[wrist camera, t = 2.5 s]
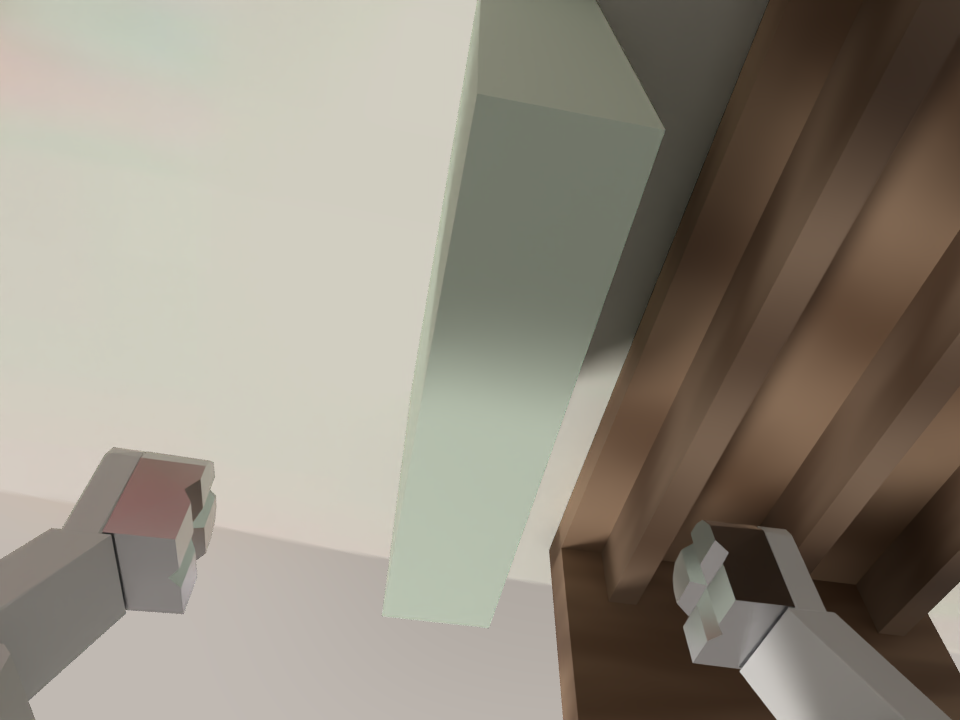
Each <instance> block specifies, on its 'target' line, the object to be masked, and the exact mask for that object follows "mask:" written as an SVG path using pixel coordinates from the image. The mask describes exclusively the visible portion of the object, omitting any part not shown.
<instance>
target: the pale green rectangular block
mask: <svg viewBox="0 0 960 720" xmlns="http://www.w3.org/2000/svg"><path fill="white" fill-rule="evenodd" d="M664 133H665V128H664V126H663V124H662V123H661V121H660V119H659V117H658V115H657V113H656V111H655V110H654V108H653V106H652V104H651V102H650V100H649V98H648V97H647V95H646V93H645V91H644V89H643V87H642V85H641V84H640V82H639V80H638V78H637V76H636V74H635V72H634V71H633V69H632V67H631V65H630V63H629V61H628V59H627V58H626V56H625V54H624V52H623V50H622V48H621V46H620V45H619V43H618V41H617V39H616V37H615V35H614V33H613V31H612V30H611V28H610V26H609V24H608V22H607V20H606V18H605V17H604V15H603V13H602V11H601V9H600V7H599V5H598V4H597V2H596V0H477V4H476V10H475V15H474V21H473V27H472V33H471V39H470V45H469V51H468V57H467V63H466V69H465V75H464V81H463V87H462V93H461V98H460V104H459V110H458V116H457V122H456V128H455V134H454V140H453V146H452V152H451V158H450V164H449V170H448V176H447V182H446V187H445V193H444V199H443V205H442V211H441V217H440V223H439V229H438V235H437V241H436V247H435V253H434V259H433V265H432V270H431V276H430V282H429V288H428V294H427V300H426V306H425V312H424V318H423V324H422V330H421V336H420V342H419V348H418V353H417V359H416V365H415V371H414V377H413V383H412V389H411V396H410V404H409V412H408V419H407V427H406V435H405V442H404V450H403V458H402V465H401V473H400V481H399V489H398V496H397V504H396V512H395V519H394V527H393V535H392V542H391V550H390V558H389V566H388V573H387V581H386V589H385V597H384V604H383V612H382V616H385V617H393V618H402V619H411V620H420V621H429V622H438V623H447V624H456V625H465V626H475V627H483V628H489V626H490V623H491V620H492V618H493V615H494V612H495V609H496V606H497V604H498V601H499V598H500V595H501V593H502V590H503V587H504V584H505V581H506V578H507V576H508V573H509V570H510V567H511V564H512V562H513V559H514V556H515V553H516V550H517V547H518V545H519V542H520V539H521V536H522V533H523V530H524V528H525V525H526V522H527V519H528V516H529V514H530V511H531V508H532V505H533V502H534V499H535V497H536V494H537V491H538V488H539V485H540V483H541V480H542V477H543V474H544V471H545V468H546V466H547V463H548V460H549V457H550V454H551V452H552V449H553V446H554V443H555V440H556V437H557V435H558V432H559V429H560V426H561V423H562V420H563V418H564V415H565V412H566V409H567V406H568V404H569V401H570V398H571V395H572V392H573V389H574V387H575V384H576V381H577V378H578V375H579V373H580V370H581V367H582V364H583V361H584V358H585V356H586V353H587V350H588V347H589V344H590V341H591V339H592V336H593V333H594V330H595V327H596V325H597V322H598V319H599V316H600V313H601V310H602V308H603V305H604V302H605V299H606V296H607V294H608V291H609V288H610V285H611V282H612V279H613V277H614V274H615V271H616V268H617V265H618V263H619V260H620V257H621V254H622V251H623V248H624V246H625V243H626V240H627V237H628V234H629V231H630V229H631V226H632V223H633V220H634V217H635V215H636V212H637V209H638V206H639V203H640V200H641V198H642V195H643V192H644V189H645V186H646V184H647V181H648V178H649V175H650V172H651V169H652V167H653V164H654V161H655V158H656V155H657V152H658V150H659V147H660V144H661V141H662V138H663V136H664Z"/></svg>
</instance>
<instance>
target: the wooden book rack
mask: <svg viewBox="0 0 960 720" xmlns="http://www.w3.org/2000/svg"><path fill="white" fill-rule="evenodd" d="M701 520H709V521H718V522H727V523H736V524H745V525H754V526H756V527H757V526H760V527H769V528H778V529H786V530H787V531H788V532H789V533H790V534H791V535H792V537H793V539H794V541H795V543H796V545H797V548H798V550H799V552H800V554H801V556H802V559H803V561H804V563H805V565H806V567H807V570H808V572H809V574H810V576H811V578H812V581H813V583H814V585H815V587H816V589H817V592H818V594H819V596H820V598H821V600H822V603H823V605H824V607H825V609H826V611H827V612H833V613H836V614H837V615H838V616H839V617H840V618H841V619H842V620H843V621H844V622H845V623H847V624H848V625H849V626H850V627H851V628H852V629H853V630H854V631H855V632H856V633H857V634H859V635H860V636H861V637H862V638H863V639H864V640H865V641H866V642H867V643H868V644H870V645H871V646H872V647H873V648H874V649H875V650H876V651H877V652H878V653H879V654H880V655H882V656H883V657H884V658H885V659H886V660H887V661H888V662H889V663H890V664H891V665H892V666H894V667H895V668H896V669H897V670H898V671H899V672H900V673H901V674H902V675H903V676H905V677H906V678H907V679H908V680H909V681H910V682H911V683H912V684H913V685H914V686H915V687H917V688H918V689H919V690H920V691H921V692H922V693H923V694H924V695H925V696H926V697H928V698H929V699H930V700H931V701H932V702H933V703H934V704H935V705H936V706H937V707H938V708H940V709H941V710H942V711H943V712H944V713H945V714H946V715H947V716H948V717H949V718H950V719H952V720H960V673H959V671H958V669H957V667H956V665H955V663H954V662H953V660H952V658H951V656H950V654H949V652H948V650H947V649H946V647H945V645H944V643H943V641H942V639H941V637H940V636H939V634H938V632H937V630H936V628H935V626H934V625H933V623H932V621H931V619H930V617H929V615H928V612H929V611H930V610H932V609H933V608H934V607H935V606H936V605H937V604H938V603H939V602H940V601H941V600H942V599H943V598H944V597H945V596H946V595H947V594H948V593H949V592H950V591H951V590H952V589H953V588H954V587H955V586H956V585H957V584H958V583H959V582H960V0H769V3H768V5H767V8H766V10H765V13H764V15H763V18H762V20H761V23H760V25H759V28H758V30H757V33H756V35H755V38H754V40H753V43H752V45H751V48H750V50H749V53H748V55H747V58H746V60H745V63H744V65H743V68H742V70H741V73H740V75H739V78H738V80H737V83H736V85H735V88H734V90H733V93H732V95H731V98H730V100H729V103H728V105H727V108H726V110H725V112H724V115H723V117H722V120H721V122H720V125H719V127H718V130H717V132H716V135H715V137H714V140H713V142H712V145H711V147H710V150H709V152H708V155H707V157H706V160H705V162H704V165H703V167H702V170H701V172H700V175H699V177H698V180H697V182H696V185H695V187H694V190H693V192H692V195H691V197H690V200H689V202H688V205H687V207H686V210H685V212H684V215H683V217H682V220H681V222H680V225H679V227H678V230H677V232H676V235H675V237H674V240H673V242H672V245H671V247H670V250H669V252H668V255H667V257H666V260H665V262H664V265H663V267H662V270H661V272H660V275H659V277H658V280H657V282H656V285H655V287H654V290H653V292H652V295H651V297H650V300H649V302H648V305H647V307H646V310H645V312H644V315H643V317H642V320H641V322H640V325H639V327H638V330H637V332H636V335H635V337H634V340H633V342H632V345H631V347H630V350H629V352H628V355H627V357H626V360H625V362H624V365H623V367H622V370H621V372H620V375H619V377H618V380H617V382H616V385H615V387H614V390H613V392H612V395H611V397H610V400H609V402H608V405H607V407H606V410H605V412H604V415H603V417H602V420H601V422H600V425H599V427H598V430H597V432H596V435H595V437H594V440H593V442H592V445H591V447H590V450H589V452H588V455H587V457H586V460H585V462H584V465H583V467H582V470H581V472H580V475H579V477H578V480H577V482H576V485H575V487H574V490H573V492H572V495H571V497H570V500H569V502H568V505H567V507H566V510H565V512H564V515H563V517H562V520H561V522H560V525H559V527H558V530H557V532H556V535H555V537H554V540H553V542H552V545H551V547H550V550H549V554H550V566H551V578H552V589H553V602H554V614H555V626H556V638H557V650H558V662H559V673H560V686H561V698H562V710H563V720H777V719H776V718H775V717H774V716H773V714H772V713H771V712H770V710H769V709H768V708H767V706H766V705H765V704H764V703H763V701H762V700H761V699H760V697H759V696H758V695H757V693H756V692H755V691H754V690H753V688H752V687H751V686H750V684H749V683H748V682H747V680H746V679H745V678H744V677H743V675H742V674H741V673H740V670H741V669H736V668H728V667H720V666H712V665H704V664H696V663H693V662H692V659H691V655H690V651H689V647H688V644H687V640H686V636H685V633H684V629H683V626H684V624H685V622H686V620H687V618H688V615H687V614H686V613H685V612H684V611H683V610H682V608H681V607H680V606H679V605H678V604H677V602H676V598H675V594H674V588H673V572H674V566H675V561H676V559H677V557H678V555H679V553H680V551H681V550H682V549H684V548H686V547H687V546H689V545H691V544H693V540H692V537H691V532H692V530H693V529H694V527H695V525H696V524H697V523H698V522H700V521H701Z"/></svg>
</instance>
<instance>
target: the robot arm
mask: <svg viewBox="0 0 960 720" xmlns="http://www.w3.org/2000/svg"><path fill="white" fill-rule="evenodd" d="M214 478H215V472H214V462H212V461H209V460H202V459H195V458H188V457H181V456H175V455H168V454H161V453H154V452H144V451H137V450H130V449H123V448H116V447H113V448H112V449H111V450H110V451H108V452H107V453H106V454H105V455H104V457H103V459H102V460H101V462H100V464H99V465H98V467H97V469H96V471H95V472H94V474H93V476H92V478H91V479H90V481H89V483H88V484H87V486H86V488H85V490H84V491H83V493H82V495H81V496H80V498H79V500H78V502H77V503H76V505H75V507H74V509H73V510H72V512H71V514H70V515H69V517H68V519H67V521H66V522H65V524H64V526H63V528H62V529H55V528H51V529H49V530H47V531H46V532H44V533H43V534H41V535H39V536H38V537H36V538H34V539H33V540H31V541H29V542H28V543H26V544H25V545H23V546H21V547H20V548H18V549H16V550H15V551H13V552H12V553H10V554H8V555H7V556H5V557H3V558H2V559H0V720H35V718H34V715H33V712H32V710H31V707H30V704H29V702H28V701H29V700H30V699H31V698H32V697H33V696H34V695H35V694H37V692H39V691H40V690H41V689H42V688H43V687H44V686H46V684H48V683H49V682H50V681H51V680H52V679H53V678H54V677H56V676H57V675H58V674H59V673H60V672H61V671H62V670H63V669H64V668H66V667H67V666H68V665H69V664H70V663H71V662H72V661H73V660H75V659H76V658H77V657H78V656H79V655H80V654H81V653H82V652H83V651H85V650H86V649H87V648H88V647H89V646H90V645H91V644H92V643H94V641H96V639H98V638H99V637H100V636H101V635H102V634H104V633H105V632H106V631H107V630H108V629H109V628H110V627H111V626H112V625H113V624H115V623H116V622H117V621H118V620H119V619H120V618H121V617H123V616H124V615H125V614H126V610H133V611H148V612H162V613H176V614H184V611H185V609H186V606H187V603H188V600H189V598H190V595H191V592H192V590H193V587H194V584H195V582H196V579H197V568H196V560H197V559H199V558H200V557H201V556H203V555H204V554H205V553H206V551H207V548H208V545H209V542H210V539H211V536H212V532H213V527H214V523H215V516H216V495H215V494H214V493H213V492H212V491H211V490H210V488H211V486H212V483H213V481H214ZM691 537H692V540H693V544H691V545H689V546H687V547H686V548H684V549H682V550H681V551H680V553H679V555H678V557H677V559H676V561H675V566H674V572H673V588H674V594H675V598H676V602H677V604H678V605H679V606H680V607H681V608H682V610H683V611H684V612H685V613H686V614H687V615H688V618H687V620H686V622H685V624H684V626H683V629H684V633H685V636H686V640H687V644H688V647H689V651H690V655H691V659H692V662H693V663H696V664H704V665H712V666H720V667H728V668H736V669H741V670H740V673H741V674H742V675H743V677H744V678H745V679H746V680H747V682H748V683H749V684H750V686H751V687H752V688H753V690H754V691H755V692H756V693H757V695H758V696H759V697H760V699H761V700H762V701H763V703H764V704H765V705H766V706H767V708H768V709H769V710H770V712H771V713H772V714H773V716H774V717H775V718H776V719H777V720H952V719H950V718H949V717H948V716H947V715H946V714H945V713H944V712H943V711H942V710H941V709H940V708H938V707H937V706H936V705H935V704H934V703H933V702H932V701H931V700H930V699H929V698H928V697H926V696H925V695H924V694H923V693H922V692H921V691H920V690H919V689H918V688H917V687H915V686H914V685H913V684H912V683H911V682H910V681H909V680H908V679H907V678H906V677H905V676H903V675H902V674H901V673H900V672H899V671H898V670H897V669H896V668H895V667H894V666H892V665H891V664H890V663H889V662H888V661H887V660H886V659H885V658H884V657H883V656H882V655H880V654H879V653H878V652H877V651H876V650H875V649H874V648H873V647H872V646H871V645H870V644H868V643H867V642H866V641H865V640H864V639H863V638H862V637H861V636H860V635H859V634H857V633H856V632H855V631H854V630H853V629H852V628H851V627H850V626H849V625H848V624H847V623H845V622H844V621H843V620H842V619H841V618H840V617H839V616H838V615H837V614H836V613H833V612H827V611H826V609H825V607H824V605H823V603H822V600H821V598H820V596H819V594H818V592H817V589H816V587H815V585H814V583H813V581H812V578H811V576H810V574H809V572H808V570H807V567H806V565H805V563H804V561H803V559H802V556H801V554H800V552H799V550H798V548H797V545H796V543H795V541H794V539H793V537H792V535H791V534H790V533H789V532H788V531H787V530H786V529H778V528H769V527H760V526H757V527H756V526H754V525H745V524H736V523H727V522H718V521H709V520H701V521H700V522H698V523H697V524H696V525H695V527H694V529H693V530H692V532H691Z"/></svg>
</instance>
